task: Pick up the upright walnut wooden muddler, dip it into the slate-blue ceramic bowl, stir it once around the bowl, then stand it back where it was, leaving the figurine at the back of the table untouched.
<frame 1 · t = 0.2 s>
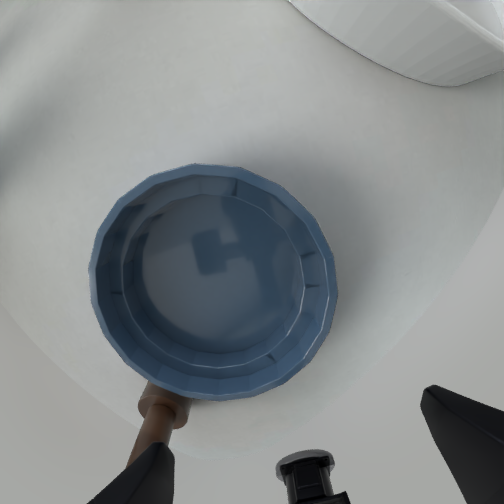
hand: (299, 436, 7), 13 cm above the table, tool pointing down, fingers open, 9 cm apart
bowl: (213, 278, 20), on the table
muddler: (169, 392, 22), on the table
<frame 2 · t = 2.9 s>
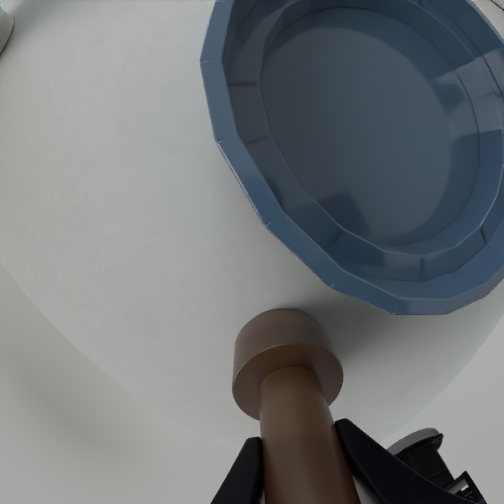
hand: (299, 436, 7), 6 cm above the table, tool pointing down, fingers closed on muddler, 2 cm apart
bowl: (388, 114, 10), on the table
muddler: (281, 349, 13), on the table, touching gripper
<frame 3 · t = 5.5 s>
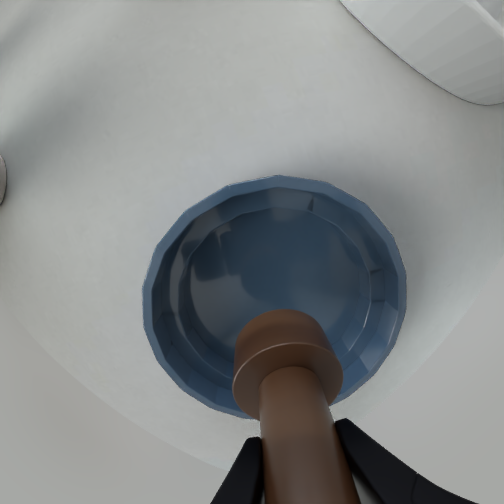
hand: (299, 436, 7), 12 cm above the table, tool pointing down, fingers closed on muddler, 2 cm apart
white wheel: (430, 0, 13), on the table
bowl: (274, 294, 19), on the table
muddler: (281, 349, 12), point 6 cm above the table, touching gripper
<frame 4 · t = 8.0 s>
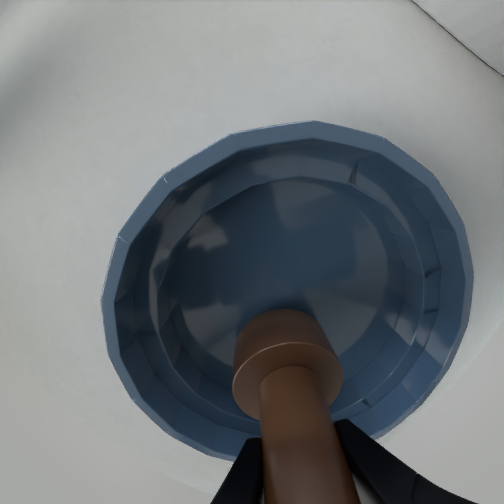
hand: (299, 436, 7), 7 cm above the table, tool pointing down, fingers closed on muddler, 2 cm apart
bowl: (293, 304, 13), on the table
muddler: (281, 349, 12), point 1 cm above the table, touching gripper
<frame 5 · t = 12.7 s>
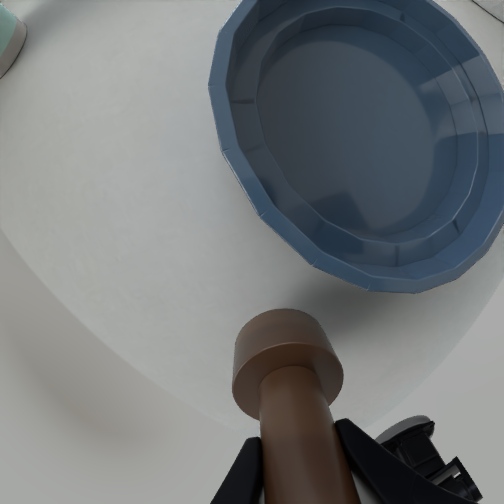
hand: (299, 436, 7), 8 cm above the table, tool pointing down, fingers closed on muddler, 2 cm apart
coffee cup: (5, 54, 10), on the table
bowl: (369, 121, 12), on the table
muddler: (281, 349, 12), point 2 cm above the table, touching gripper
when the fingers open (5 cm above the table, at t = 13.5 s): muddler stays where it is, on the table.
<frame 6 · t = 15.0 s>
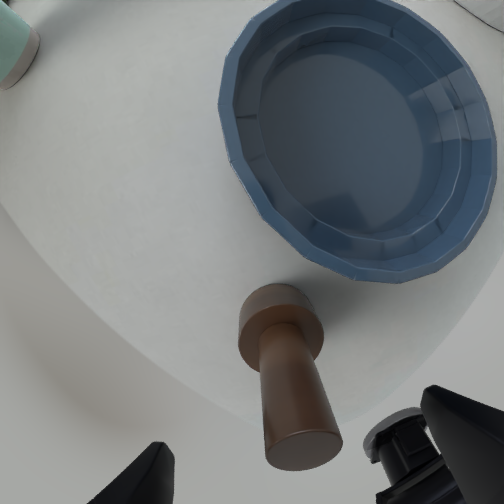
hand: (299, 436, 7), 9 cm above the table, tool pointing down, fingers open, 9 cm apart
coffee cup: (18, 60, 12), on the table
bowl: (360, 131, 14), on the table
muddler: (276, 317, 16), on the table
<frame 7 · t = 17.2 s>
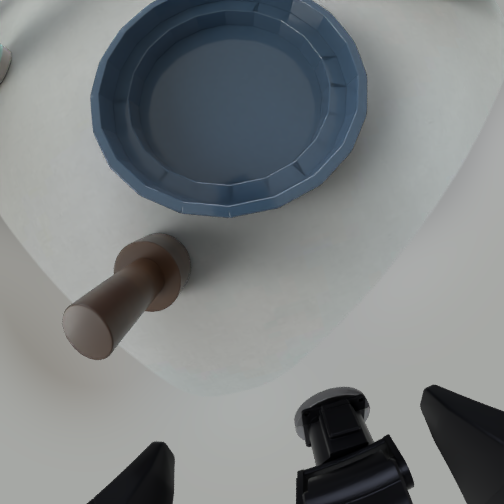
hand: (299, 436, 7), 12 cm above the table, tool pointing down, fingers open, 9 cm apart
bowl: (229, 97, 16), on the table
muddler: (160, 264, 18), on the table
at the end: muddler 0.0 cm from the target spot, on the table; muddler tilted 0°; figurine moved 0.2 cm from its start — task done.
